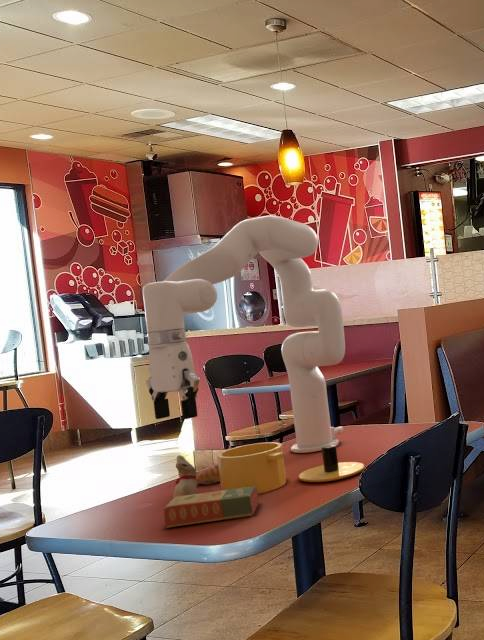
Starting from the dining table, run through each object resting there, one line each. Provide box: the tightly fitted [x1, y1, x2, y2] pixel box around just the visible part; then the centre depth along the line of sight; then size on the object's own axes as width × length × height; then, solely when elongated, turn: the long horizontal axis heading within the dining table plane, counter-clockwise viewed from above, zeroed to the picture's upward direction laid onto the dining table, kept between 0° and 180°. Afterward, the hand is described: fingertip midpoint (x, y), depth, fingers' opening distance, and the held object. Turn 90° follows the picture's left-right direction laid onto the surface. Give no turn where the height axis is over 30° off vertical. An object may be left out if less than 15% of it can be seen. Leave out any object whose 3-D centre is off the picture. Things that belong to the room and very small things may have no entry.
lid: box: [298, 445, 365, 483], centre depth 169 cm, size 15×15×7 cm
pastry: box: [196, 463, 220, 485], centre depth 176 cm, size 9×7×4 cm
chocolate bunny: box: [172, 454, 198, 499], centre depth 161 cm, size 6×8×10 cm
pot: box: [216, 441, 287, 495], centre depth 165 cm, size 14×19×8 cm
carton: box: [163, 486, 260, 529], centre depth 145 cm, size 8×16×4 cm, turn 98°
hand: (176, 417), depth 161 cm, fingers open, 9 cm apart
